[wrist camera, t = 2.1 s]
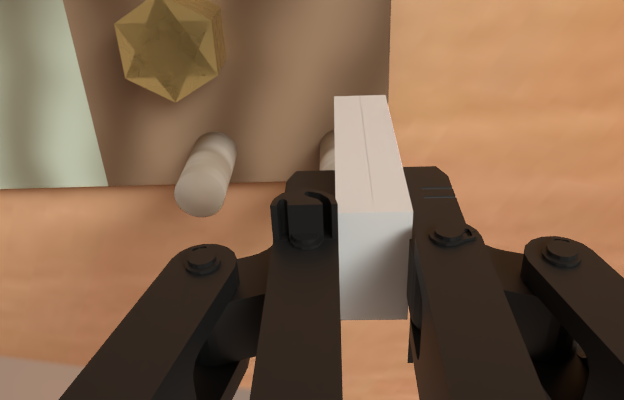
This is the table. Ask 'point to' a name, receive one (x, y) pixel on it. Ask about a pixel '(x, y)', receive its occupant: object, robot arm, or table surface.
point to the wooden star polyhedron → (172, 45)
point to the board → (189, 110)
